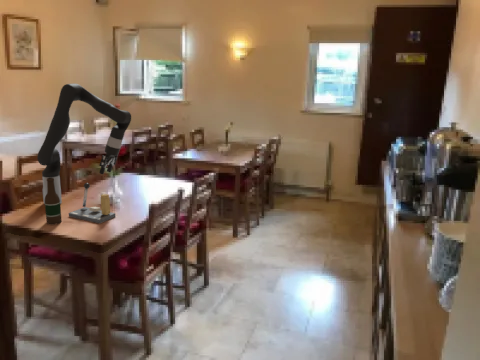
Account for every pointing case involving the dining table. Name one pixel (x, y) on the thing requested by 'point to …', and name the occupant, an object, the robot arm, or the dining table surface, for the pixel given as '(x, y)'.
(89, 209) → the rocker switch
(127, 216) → the dining table surface
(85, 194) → the toggle lever
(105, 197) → the slider knob
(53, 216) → the beer bottle
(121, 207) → the dining table surface
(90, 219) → the control box
